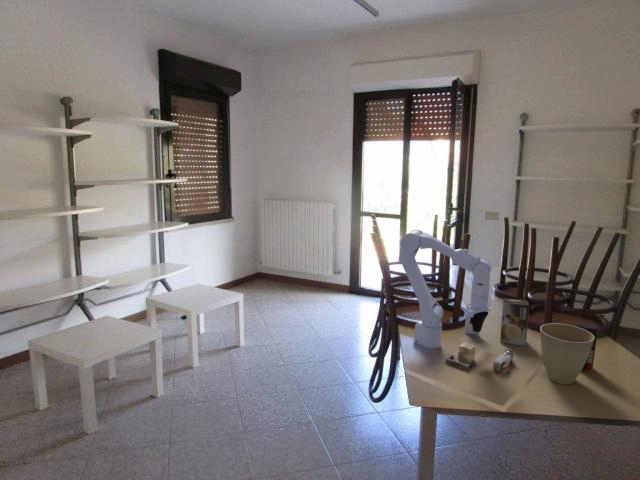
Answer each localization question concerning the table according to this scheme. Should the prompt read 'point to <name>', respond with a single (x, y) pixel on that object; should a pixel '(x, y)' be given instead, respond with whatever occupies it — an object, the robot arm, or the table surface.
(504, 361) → the hinged leg
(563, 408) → the table surface
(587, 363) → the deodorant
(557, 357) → the plant pot
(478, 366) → the plate
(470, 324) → the energy drink
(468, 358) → the leg stub
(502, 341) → the coffee box
